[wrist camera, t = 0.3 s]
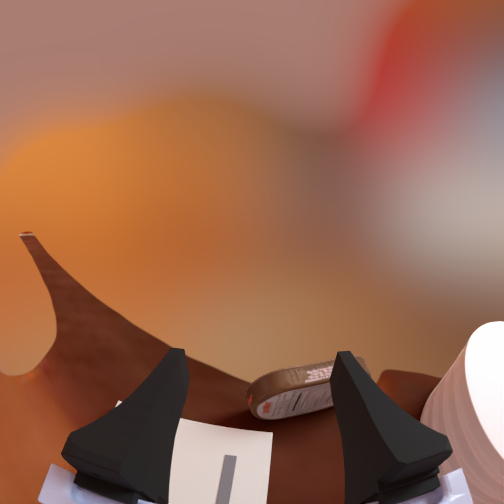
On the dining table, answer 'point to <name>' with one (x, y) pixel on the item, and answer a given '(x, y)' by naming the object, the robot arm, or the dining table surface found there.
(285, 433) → the dining table surface
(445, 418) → the plate stack
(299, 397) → the tin
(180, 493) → the board
